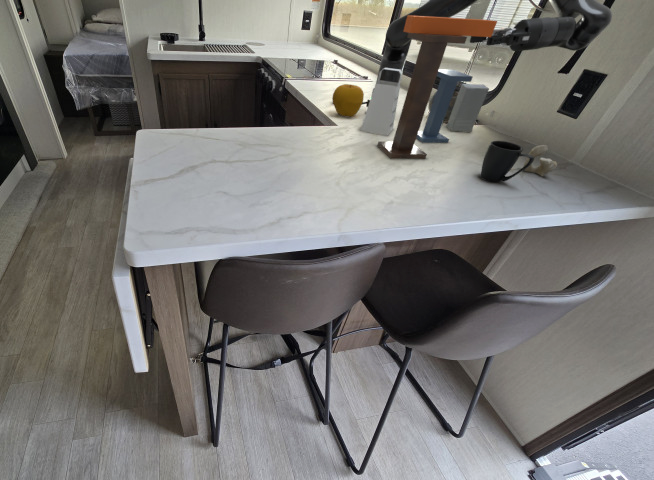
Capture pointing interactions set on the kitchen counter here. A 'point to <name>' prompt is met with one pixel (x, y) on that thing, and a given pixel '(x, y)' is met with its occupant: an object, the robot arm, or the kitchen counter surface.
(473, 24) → the orange wooden plank
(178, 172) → the kitchen counter surface
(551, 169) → the bone
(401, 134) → the tall stand
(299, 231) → the kitchen counter surface
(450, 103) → the bowl
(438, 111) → the lower shelf
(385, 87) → the grater
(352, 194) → the kitchen counter surface
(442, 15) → the robot arm
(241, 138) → the kitchen counter surface
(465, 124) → the cosmetic box
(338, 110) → the apple
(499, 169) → the mug
